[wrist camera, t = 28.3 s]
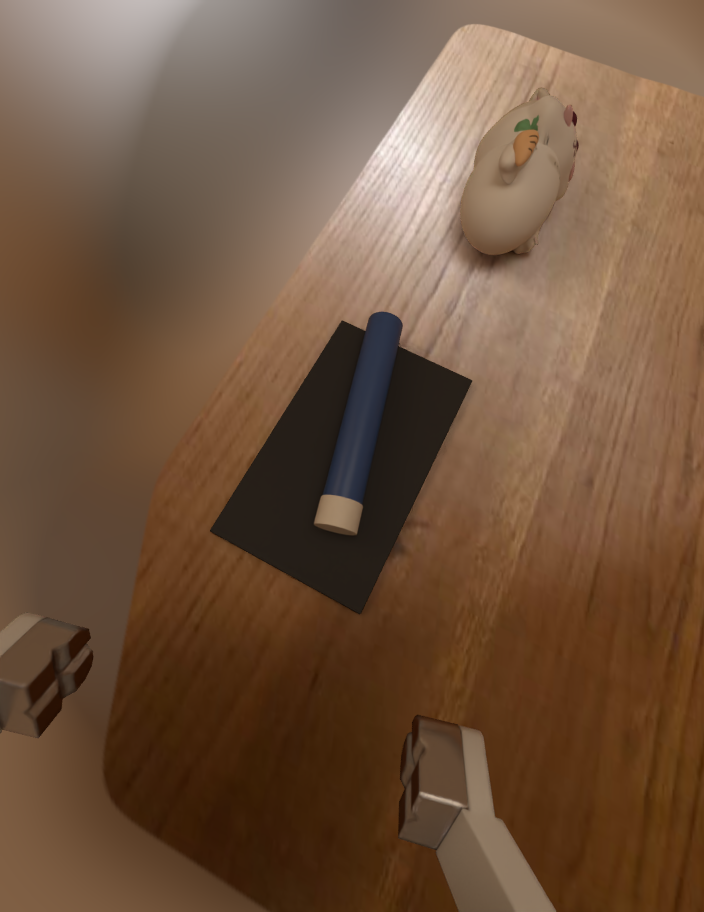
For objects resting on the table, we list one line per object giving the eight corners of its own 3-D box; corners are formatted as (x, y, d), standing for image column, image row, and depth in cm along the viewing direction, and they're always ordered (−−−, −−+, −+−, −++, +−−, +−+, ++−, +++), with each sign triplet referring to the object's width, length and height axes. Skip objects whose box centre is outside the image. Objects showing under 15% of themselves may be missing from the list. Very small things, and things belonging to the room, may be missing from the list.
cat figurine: (529, 183, 28) (591, 26, 31) (424, 200, 33) (486, 63, 36) (545, 281, 36) (594, 148, 38) (459, 284, 40) (508, 165, 43)
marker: (373, 305, 32) (317, 521, 26) (409, 318, 32) (361, 533, 27) (363, 327, 34) (310, 526, 29) (396, 339, 35) (351, 537, 29)
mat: (359, 614, 28) (360, 614, 28) (211, 531, 30) (209, 530, 29) (470, 383, 34) (472, 380, 33) (341, 323, 35) (341, 320, 35)
